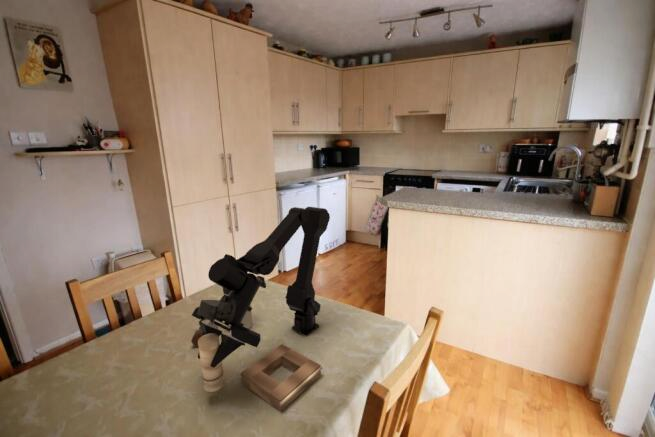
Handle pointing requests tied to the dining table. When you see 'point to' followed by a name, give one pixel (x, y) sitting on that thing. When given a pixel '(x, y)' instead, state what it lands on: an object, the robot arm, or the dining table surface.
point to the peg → (207, 351)
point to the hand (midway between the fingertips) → (205, 362)
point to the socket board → (288, 389)
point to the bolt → (197, 336)
